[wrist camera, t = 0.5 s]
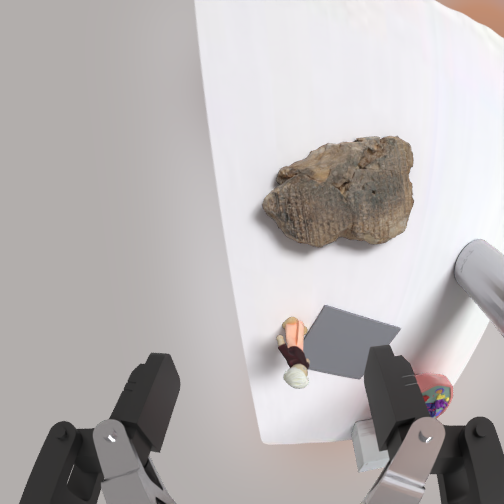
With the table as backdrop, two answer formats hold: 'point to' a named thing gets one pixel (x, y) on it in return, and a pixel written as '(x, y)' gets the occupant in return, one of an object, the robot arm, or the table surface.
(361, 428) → the supplement box
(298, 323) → the grandmother figurine
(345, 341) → the felt mat
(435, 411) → the cell model
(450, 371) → the table surface
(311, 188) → the clay tablet
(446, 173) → the table surface
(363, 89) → the table surface
